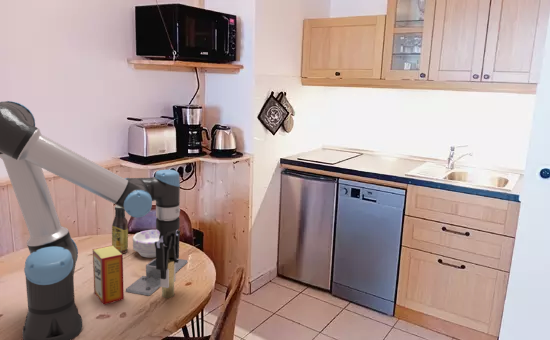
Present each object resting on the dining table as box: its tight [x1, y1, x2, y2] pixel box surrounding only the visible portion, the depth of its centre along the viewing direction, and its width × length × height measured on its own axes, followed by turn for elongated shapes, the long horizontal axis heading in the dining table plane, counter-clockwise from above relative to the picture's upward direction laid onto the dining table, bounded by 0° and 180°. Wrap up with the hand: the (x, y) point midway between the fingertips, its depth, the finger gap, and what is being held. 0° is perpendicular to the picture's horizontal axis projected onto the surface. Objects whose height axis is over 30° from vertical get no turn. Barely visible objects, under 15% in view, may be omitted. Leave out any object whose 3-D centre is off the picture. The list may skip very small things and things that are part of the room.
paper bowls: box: [132, 229, 160, 259], centre depth 181 cm, size 15×15×8 cm
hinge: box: [125, 258, 189, 297], centre depth 161 cm, size 29×9×5 cm, turn 166°
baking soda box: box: [92, 244, 125, 306], centre depth 144 cm, size 10×6×16 cm
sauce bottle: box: [111, 205, 129, 255], centre depth 180 cm, size 6×6×20 cm
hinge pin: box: [161, 259, 175, 299], centre depth 147 cm, size 4×4×12 cm
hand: (168, 283), depth 147 cm, fingers closed on hinge pin, 4 cm apart
